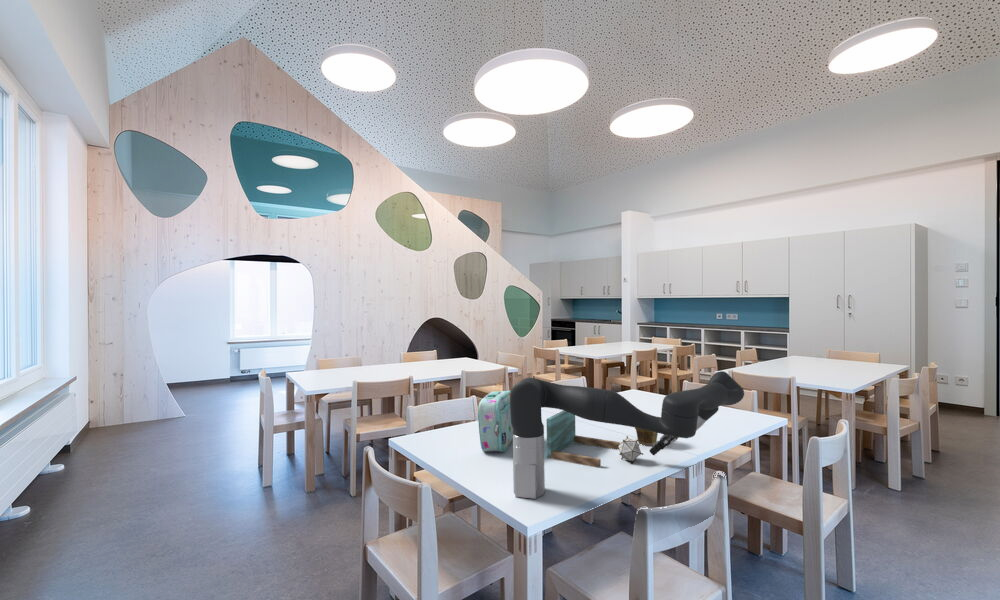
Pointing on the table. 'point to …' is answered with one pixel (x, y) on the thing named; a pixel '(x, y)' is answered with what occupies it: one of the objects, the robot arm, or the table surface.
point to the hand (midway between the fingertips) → (651, 452)
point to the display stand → (570, 440)
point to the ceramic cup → (646, 437)
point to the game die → (629, 449)
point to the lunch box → (495, 421)
